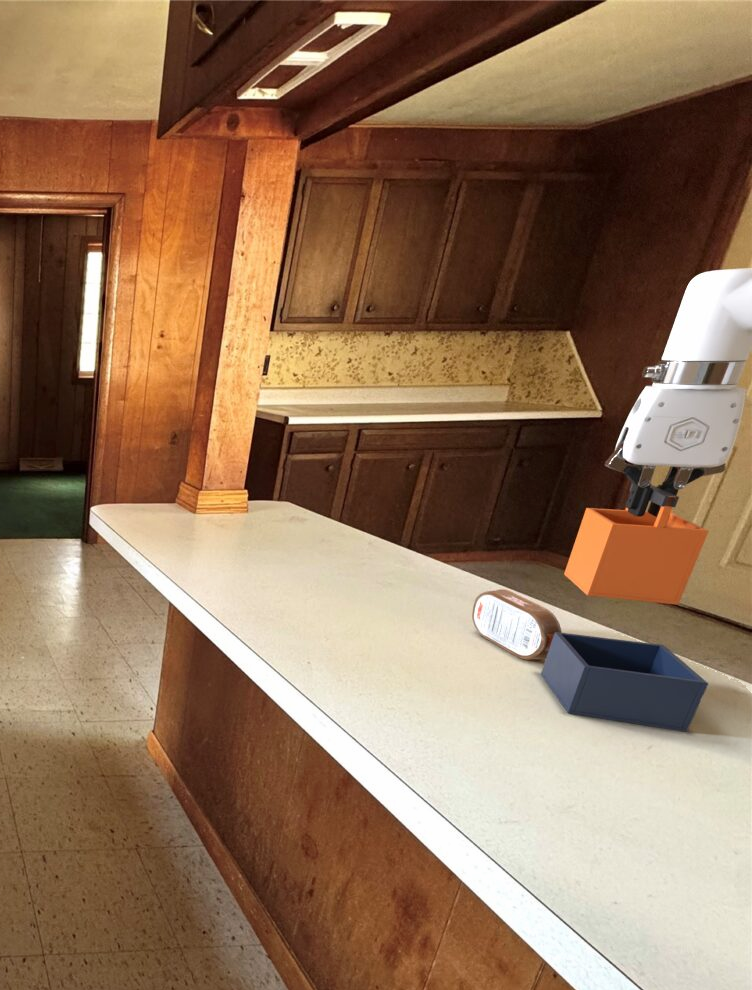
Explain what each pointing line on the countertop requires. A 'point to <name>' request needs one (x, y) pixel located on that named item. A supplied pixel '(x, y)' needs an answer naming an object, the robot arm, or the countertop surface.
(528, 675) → the countertop surface
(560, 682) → the bin outer
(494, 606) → the tin
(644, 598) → the basket
